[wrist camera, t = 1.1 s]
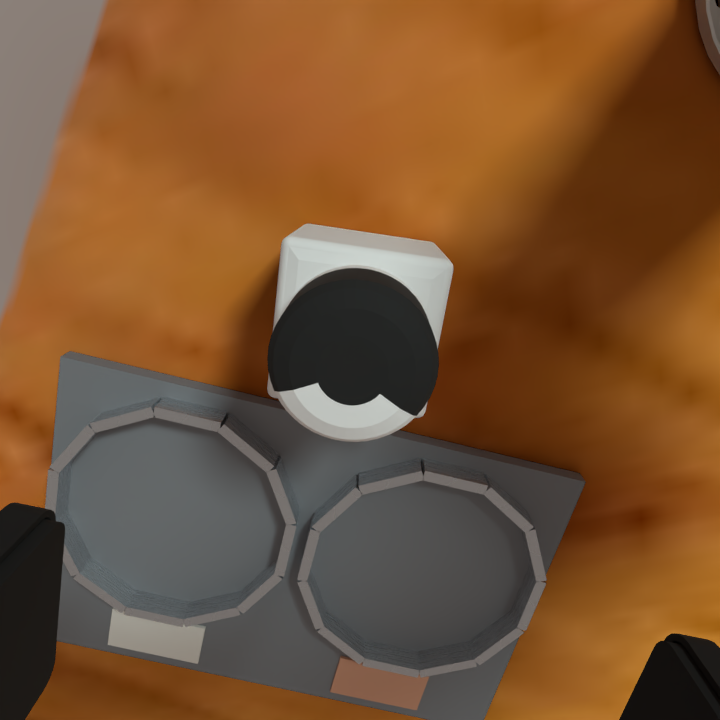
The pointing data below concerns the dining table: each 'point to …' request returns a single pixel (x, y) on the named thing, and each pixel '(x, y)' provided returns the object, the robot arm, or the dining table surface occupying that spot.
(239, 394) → the socket board
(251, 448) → the steel rings
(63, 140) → the dining table surface
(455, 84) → the dining table surface
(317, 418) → the medicine bottle
